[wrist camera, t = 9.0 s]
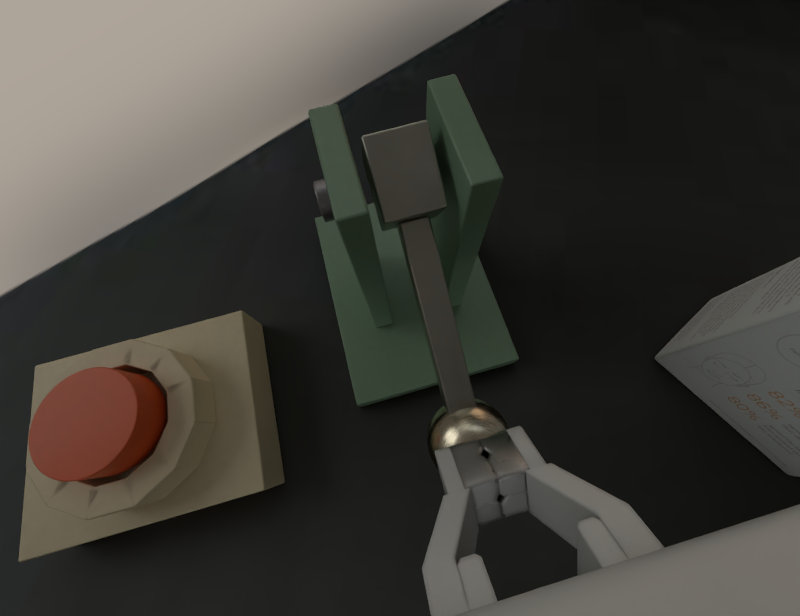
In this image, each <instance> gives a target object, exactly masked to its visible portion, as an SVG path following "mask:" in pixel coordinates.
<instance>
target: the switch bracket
mask: <svg viewBox="0 0 800 616" xmlns="http://www.w3.org/2000/svg"><path fill="white" fill-rule="evenodd" d="M308 114H309V118H310V122H311V126H312V130H313V134H314V138H315V142H316V146H317V150H318V154H319V159H320V163H321V167H322V171H323V175H324V179H321V180H318V181H314V182H313V187H314V191H315V195H316V199H317V202H318V206H319V209H320V211H321V214H322V217H318V218H315V221H316V226H317V230H318V235H319V239H320V244H321V248H322V253H323V257H324V261H325V266H326V270H327V275H328V279H329V284H330V288H331V293H332V297H333V301H334V306H335V310H336V315H337V319H338V324H339V328H340V333H341V337H342V341H343V346H344V350H345V355H346V359H347V364H348V368H349V373H350V377H351V381H352V386H353V390H354V395H355V399H356V404H357V405H358V406H360V407H362V406H366V405H369V404H373V403H376V402H380V401H383V400H387V399H390V398H394V397H397V396H401V395H404V394H408V393H411V392H415V391H418V390H422V389H425V388H429V387H432V386H436V385H438V382H437V378H436V374H435V370H434V366H433V362H432V359H431V355H430V351H429V347H428V343H427V339H426V336H425V332H424V328H423V324H422V320H421V316H420V313H419V309H418V305H417V301H416V297H415V293H414V290H413V286H412V282H411V278H410V274H409V270H408V267H407V263H406V259H405V255H404V251H403V247H402V244H401V240H400V236H399V232H398V227H397V228H394V229H390V230H386V231H382V230H381V227H380V223H379V219H378V215H377V212H376V208H375V204H374V203H372V204H368V205H367V203H366V199H365V196H364V192H363V189H362V185H361V182H360V179H359V175H358V172H357V168H356V165H355V161H354V158H353V154H352V151H351V148H350V144H349V141H348V137H347V134H346V130H345V127H344V123H343V120H342V117H341V113H340V110H339V106H338V105H337V104H331V105H327V106H323V107H319V108H315V109H310V110H309V113H308ZM426 120H427V121H428V123H429V127H430V131H431V135H432V140H433V144H434V148H435V152H436V156H437V160H438V165H439V169H440V173H441V177H442V181H443V185H444V190H445V194H446V198H447V202H448V207H447V208H446V209H445V210H443V211H442V212H441V213H440V214H438V215H437V216H436V217H435V218H432V219H430V220H431V224H432V229H433V233H434V237H435V241H436V245H437V249H438V253H439V257H440V261H441V265H442V269H443V273H444V277H445V281H446V285H447V289H448V293H449V297H450V301H451V305H452V309H453V313H454V317H455V321H456V325H457V329H458V333H459V337H460V341H461V345H462V349H463V353H464V357H465V362H466V366H467V370H468V374H469V376H470V375H474V374H477V373H481V372H484V371H488V370H491V369H495V368H498V367H502V366H505V365H509V364H512V363H514V362H515V361H517V360H518V359H519V357H518V355H517V352H516V350H515V347H514V345H513V342H512V340H511V337H510V335H509V332H508V330H507V327H506V324H505V322H504V319H503V317H502V314H501V312H500V309H499V307H498V304H497V302H496V299H495V297H494V294H493V292H492V289H491V287H490V284H489V282H488V279H487V277H486V274H485V272H484V269H483V267H482V264H481V262H480V259H479V257H478V252H479V249H480V246H481V243H482V240H483V237H484V234H485V231H486V228H487V225H488V222H489V219H490V216H491V213H492V210H493V207H494V204H495V201H496V198H497V195H498V193H499V190H500V187H501V184H502V181H503V175H502V173H501V171H500V169H499V166H498V164H497V162H496V160H495V158H494V156H493V154H492V151H491V149H490V147H489V145H488V143H487V141H486V139H485V136H484V134H483V132H482V130H481V128H480V126H479V124H478V121H477V119H476V117H475V115H474V113H473V111H472V109H471V106H470V104H469V102H468V100H467V98H466V96H465V94H464V91H463V89H462V87H461V85H460V83H459V81H458V79H457V76H456V75H455V74H453V75H449V76H445V77H441V78H437V79H433V80H429V81H428V82H427V107H426Z"/></svg>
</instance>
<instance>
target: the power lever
mask: <svg viewBox="0 0 800 616" xmlns="http://www.w3.org/2000/svg"><path fill="white" fill-rule="evenodd" d="M361 144H362V156H363V163H364V167H365V171H366V174H367V178H368V182H369V186H370V189H371V193H372V197H373V201H374V204H375V208H376V212H377V215H378V219H379V223H380V227H381V230H382V231H386V230H390V229H394V228H397V227H398V232H399V236H400V240H401V244H402V247H403V251H404V255H405V259H406V263H407V267H408V270H409V274H410V278H411V282H412V286H413V290H414V293H415V297H416V301H417V305H418V309H419V313H420V316H421V320H422V324H423V328H424V332H425V336H426V339H427V343H428V347H429V351H430V355H431V359H432V362H433V366H434V370H435V374H436V378H437V382H438V385H439V389H440V393H441V397H442V401H443V406H442V407H440V408H439V409H438V411H437V412H436V413H435V414H434V416H433V418H432V420H431V422H430V424H429V428H428V433H427V445H428V450H429V454H430V456H431V459H432V461H433V463H434V464H435V466H436V467H437V468H438V465H437V461H436V457H435V453H434V451H435V450H439V449H443V448H446V447H449V446H453V445H457V444H460V443H464V442H468V441H472V440H475V439H477V438H481V437H484V436H487V435H490V434H493V433H497V432H500V431H503V430H507V429H509V428H508V426H507V423H506V421H505V420H504V418H503V417H502V415H501V414H500V413H499V412H498V411H497V410H496V409H495V408H494V407H493V406H491V405H490V404H488V403H486V402H484V401H482V400H479V399H476V398H474V394H473V390H472V386H471V382H470V378H469V374H468V370H467V366H466V362H465V357H464V353H463V349H462V345H461V341H460V337H459V333H458V329H457V325H456V321H455V317H454V313H453V309H452V305H451V301H450V297H449V293H448V289H447V285H446V281H445V277H444V273H443V269H442V265H441V261H440V257H439V253H438V249H437V245H436V241H435V237H434V233H433V229H432V224H431V220H430V219H432V218H435V217H436V216H437V215H438V214H440V213H441V212H442V211H443V210H445V209H446V208H447V207H448V202H447V198H446V194H445V190H444V185H443V181H442V177H441V173H440V169H439V165H438V160H437V156H436V152H435V148H434V144H433V140H432V135H431V131H430V127H429V123H428V121H427V120H424V121H420V122H416V123H412V124H408V125H404V126H400V127H396V128H392V129H388V130H384V131H380V132H376V133H372V134H368V135H364V136H362V137H361ZM438 470H439V469H438Z"/></svg>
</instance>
